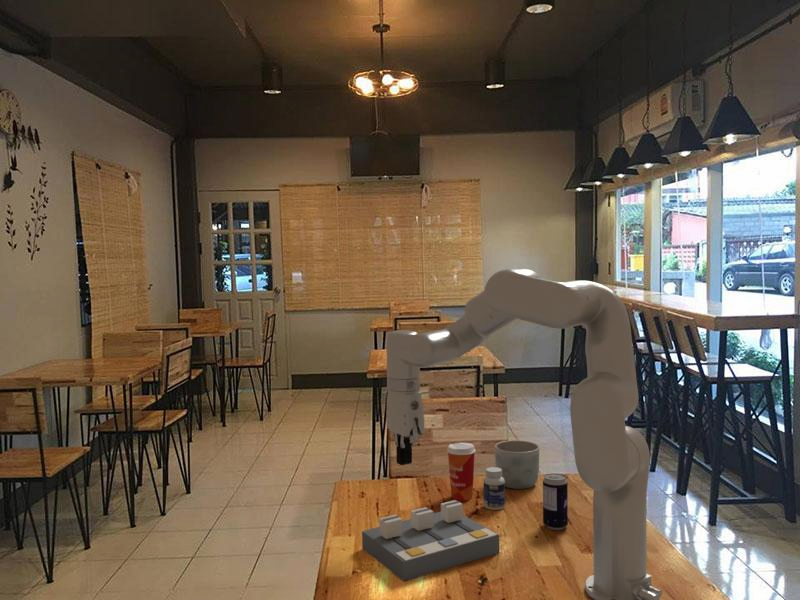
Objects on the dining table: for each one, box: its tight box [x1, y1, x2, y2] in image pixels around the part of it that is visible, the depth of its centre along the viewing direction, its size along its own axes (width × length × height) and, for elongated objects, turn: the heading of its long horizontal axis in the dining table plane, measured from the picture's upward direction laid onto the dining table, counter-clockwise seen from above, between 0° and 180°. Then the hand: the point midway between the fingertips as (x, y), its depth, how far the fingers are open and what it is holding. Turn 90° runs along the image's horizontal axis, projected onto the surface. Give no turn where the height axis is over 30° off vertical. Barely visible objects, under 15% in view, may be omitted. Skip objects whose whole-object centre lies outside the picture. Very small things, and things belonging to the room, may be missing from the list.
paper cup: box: [446, 442, 477, 502], centre depth 179 cm, size 8×8×14 cm
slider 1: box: [378, 514, 403, 539], centre depth 145 cm, size 3×4×4 cm
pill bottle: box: [483, 466, 506, 511], centre depth 172 cm, size 5×5×10 cm
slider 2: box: [410, 506, 434, 531], centre depth 149 cm, size 3×4×4 cm
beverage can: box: [542, 473, 569, 531], centre depth 159 cm, size 6×6×12 cm
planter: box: [494, 439, 540, 490], centre depth 189 cm, size 12×12×11 cm
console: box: [361, 511, 500, 582], centre depth 147 cm, size 18×24×4 cm
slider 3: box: [440, 499, 464, 523], centre depth 153 cm, size 3×4×4 cm
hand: (404, 463), depth 155 cm, fingers closed
